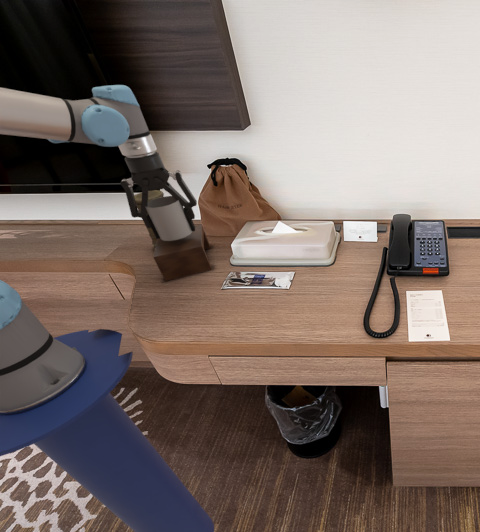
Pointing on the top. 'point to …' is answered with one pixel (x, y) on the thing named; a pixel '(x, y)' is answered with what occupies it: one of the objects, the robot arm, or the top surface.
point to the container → (138, 199)
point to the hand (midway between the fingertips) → (176, 232)
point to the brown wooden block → (183, 255)
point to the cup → (168, 218)
